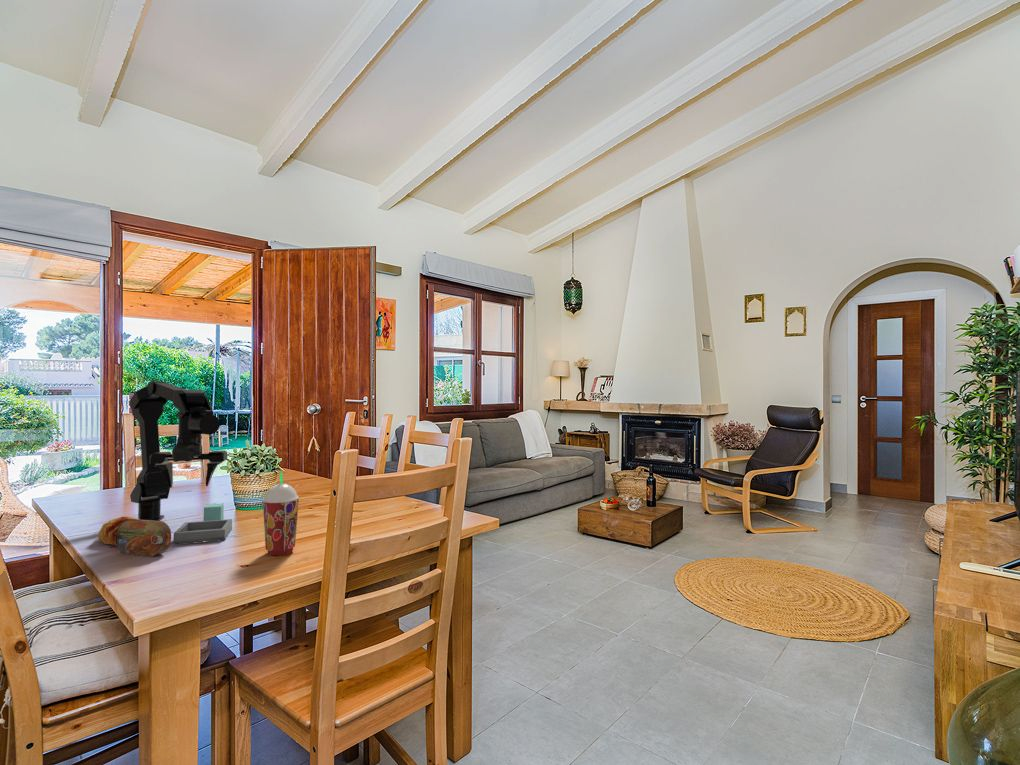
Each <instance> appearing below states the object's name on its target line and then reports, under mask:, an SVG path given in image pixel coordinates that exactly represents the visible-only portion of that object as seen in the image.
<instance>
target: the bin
mask: <svg viewBox="0 0 1020 765" xmlns="http://www.w3.org/2000/svg"><path fill="white" fill-rule="evenodd" d="M232 530H233V518H228V519H227V518H226V519H223V520H212V521H204V520H201V521H199V520H197V521H187V522H184V523H183V524H181V525H180V526H179V527H178V528H177V529H176V531H174V532H173V544H177V545H184V544H183V543H189V544H195V543H194V542H201V543H204V542H203V541H213V542H219V541H218V540H225V541H226V539H227V538H228V536H229V535H230V533H231V532H232ZM230 531H231V532H230ZM228 534H229V535H228ZM226 537H227V538H226Z"/></svg>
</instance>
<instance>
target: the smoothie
mask: <svg viewBox="0 0 1020 765" xmlns="http://www.w3.org/2000/svg"><path fill="white" fill-rule="evenodd" d="M283 475H284V473H283V472H280V473H279V483H277V484H275V485H272V486H271V487H270V488H269V489H268V490H267V491H266V493H265V495H264V497H263V498H262V505H263V526H264V542H265V543H264V546H265V550H266V551H267V554H268V555H269V556H272V555H273V557H274V555H275V557H278V556H277V555H281V556H286V555H288V554H291V553H292V552H293V550H294V548H295V547H296V540H297V539H296V538H297V537H296V536H297V526H298V525H297V524H298V513H299V512H298V511H299V499H300V497H299V495H298V493H297V491H296V490H295V488H294V487H293V486H291V485H290V484H287V483H283V482H284V481H283V479H284V478H283ZM285 554H286V555H285Z"/></svg>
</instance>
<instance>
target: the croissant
mask: <svg viewBox="0 0 1020 765" xmlns="http://www.w3.org/2000/svg"><path fill="white" fill-rule="evenodd" d="M136 519H138V517H134V516H133V517H132V516H119V517H115V518H113V519H110V520H109V521H107V522H104V524H102V526H101V528H100V530H99V532H98V541H99V542H100V541H101V542H102V543H103V544H105V545H114V546H116V542H115V533H116V530H117V528H118V526H119V525H120V524H121V523H122V522H124V521H127V520H136ZM138 520H140V519H138Z"/></svg>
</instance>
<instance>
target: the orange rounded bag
mask: <svg viewBox="0 0 1020 765" xmlns="http://www.w3.org/2000/svg"><path fill="white" fill-rule="evenodd" d="M115 542H116V545H115V546H116V548H117V550H118V551H119V552H120V553H122V554H123V553H124V555H127V554H133V555H132V556H139V555H143V556H142V557H155V556H157V555H160V554H163V553H165V552H166V551H167V550H168V549H169V548H170V546H171V542H172V530H171V528H170V526H169V525H168V524H167V523H166V521H164V520H163V521H162V520H159V521H154V520H138V519H136V520H127V521H124V522H122V523H121V524H120V525H119V526H118V528H117V530H116V533H115Z"/></svg>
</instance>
